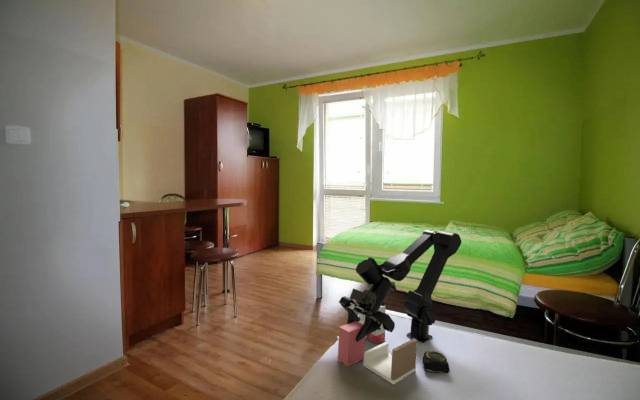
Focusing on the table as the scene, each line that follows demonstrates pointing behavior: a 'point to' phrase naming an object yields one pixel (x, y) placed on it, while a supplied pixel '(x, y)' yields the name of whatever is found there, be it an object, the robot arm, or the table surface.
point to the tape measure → (435, 362)
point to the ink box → (378, 334)
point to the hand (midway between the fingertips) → (351, 337)
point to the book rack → (392, 360)
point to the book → (350, 344)
